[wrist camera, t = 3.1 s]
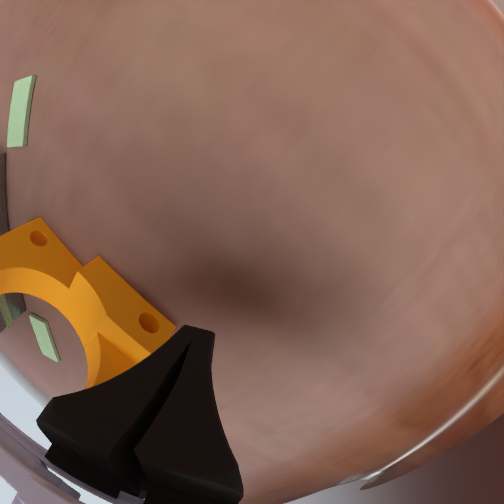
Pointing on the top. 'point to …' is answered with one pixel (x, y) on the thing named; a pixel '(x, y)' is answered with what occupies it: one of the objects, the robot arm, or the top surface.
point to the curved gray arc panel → (9, 304)
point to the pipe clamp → (83, 299)
